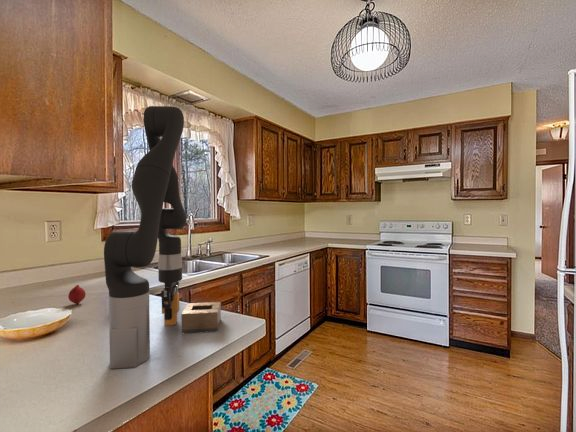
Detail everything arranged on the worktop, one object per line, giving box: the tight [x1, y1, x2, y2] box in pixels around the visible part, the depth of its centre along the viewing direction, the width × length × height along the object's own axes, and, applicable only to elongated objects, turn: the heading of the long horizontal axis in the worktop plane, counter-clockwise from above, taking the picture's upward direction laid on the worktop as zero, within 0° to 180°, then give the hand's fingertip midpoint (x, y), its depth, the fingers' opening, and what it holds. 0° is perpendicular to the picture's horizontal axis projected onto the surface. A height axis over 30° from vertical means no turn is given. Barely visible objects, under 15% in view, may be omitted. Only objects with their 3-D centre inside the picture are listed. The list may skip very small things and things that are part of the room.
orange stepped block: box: [161, 292, 180, 326], centre depth 104 cm, size 3×5×10 cm, turn 97°
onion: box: [67, 284, 87, 305], centre depth 126 cm, size 6×6×8 cm
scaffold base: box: [181, 301, 222, 334], centre depth 102 cm, size 11×11×6 cm
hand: (170, 315), depth 104 cm, fingers open, 6 cm apart
